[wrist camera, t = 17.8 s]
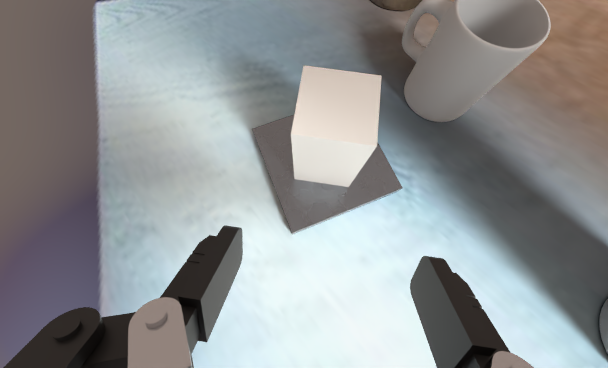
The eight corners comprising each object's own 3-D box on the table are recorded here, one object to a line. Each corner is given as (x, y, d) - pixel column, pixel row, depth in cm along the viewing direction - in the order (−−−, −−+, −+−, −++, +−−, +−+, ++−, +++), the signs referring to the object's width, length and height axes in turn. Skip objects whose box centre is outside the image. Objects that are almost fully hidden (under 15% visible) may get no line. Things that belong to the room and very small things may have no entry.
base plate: (349, 102, 31) (365, 50, 23) (397, 191, 27) (435, 166, 19) (254, 135, 29) (237, 91, 21) (292, 234, 26) (288, 225, 18)
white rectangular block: (353, 138, 27) (381, 75, 18) (348, 187, 26) (377, 146, 16) (302, 131, 28) (303, 65, 18) (294, 179, 26) (290, 134, 16)
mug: (479, 95, 31) (570, 14, 21) (442, 135, 29) (521, 68, 19) (408, 44, 34) (457, -51, 23) (370, 79, 32) (404, -8, 21)
